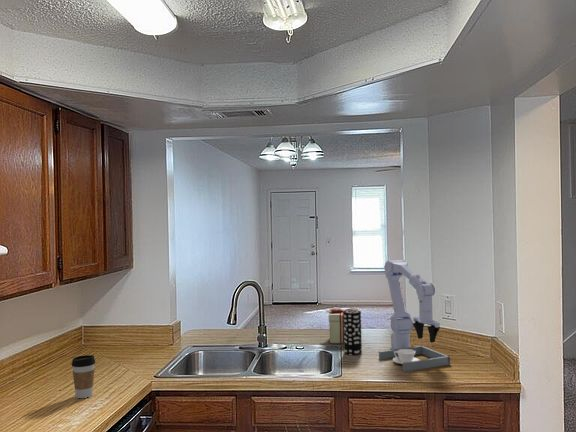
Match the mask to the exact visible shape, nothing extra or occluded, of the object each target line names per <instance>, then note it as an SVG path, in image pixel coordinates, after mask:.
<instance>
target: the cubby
mask: <svg viewBox="0 0 576 432" xmlns="http://www.w3.org/2000/svg"><path fill="white" fill-rule="evenodd" d="M401 349H410V350H414V351H415V355H414V356H416V355H423V356H425V357H429V358H426V359H419V360H417V361H411V362H404V363H403V364H402V372H411V371H418V370H419V371H420V370H424V369H431V368H438V367H444V365H445V366H450V365H451V357H450V356H449V355H448V354H447V355H446V354H445V353H442V352H439V351H436V350H434V349H431V348H429V347H426V346H423V345H417V346H410V347H408V348H401ZM397 350H400V349H393V350H392V349H389V350H386V349H385V350H380V351H378V359H379V360H380V361H381V360H388V359H393V358H395V355H394V351H397ZM395 354H396V356H397V357H399V355H398V353H395Z"/></svg>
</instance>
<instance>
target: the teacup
mask: <svg viewBox="0 0 576 432" xmlns="http://www.w3.org/2000/svg"><path fill="white" fill-rule="evenodd" d="M395 353H398V355H399V357H397V356H396V354H395ZM394 355H395V358H392V361H393V362H394V363H396V364H399V365H400V364H401V365H403V363H404V362H411V361H417V360H420V358H418V357H415V356H416V355H415V351H414V350H410V349H400V350H397V351H394Z"/></svg>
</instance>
